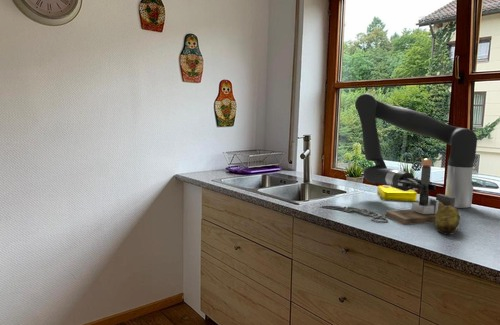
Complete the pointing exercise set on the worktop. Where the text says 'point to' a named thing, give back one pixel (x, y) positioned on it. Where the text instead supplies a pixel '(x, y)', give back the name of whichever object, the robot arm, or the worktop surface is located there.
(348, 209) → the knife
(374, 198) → the worktop surface
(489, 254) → the worktop surface
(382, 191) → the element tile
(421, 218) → the base
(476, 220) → the worktop surface
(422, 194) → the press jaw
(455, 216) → the potato
